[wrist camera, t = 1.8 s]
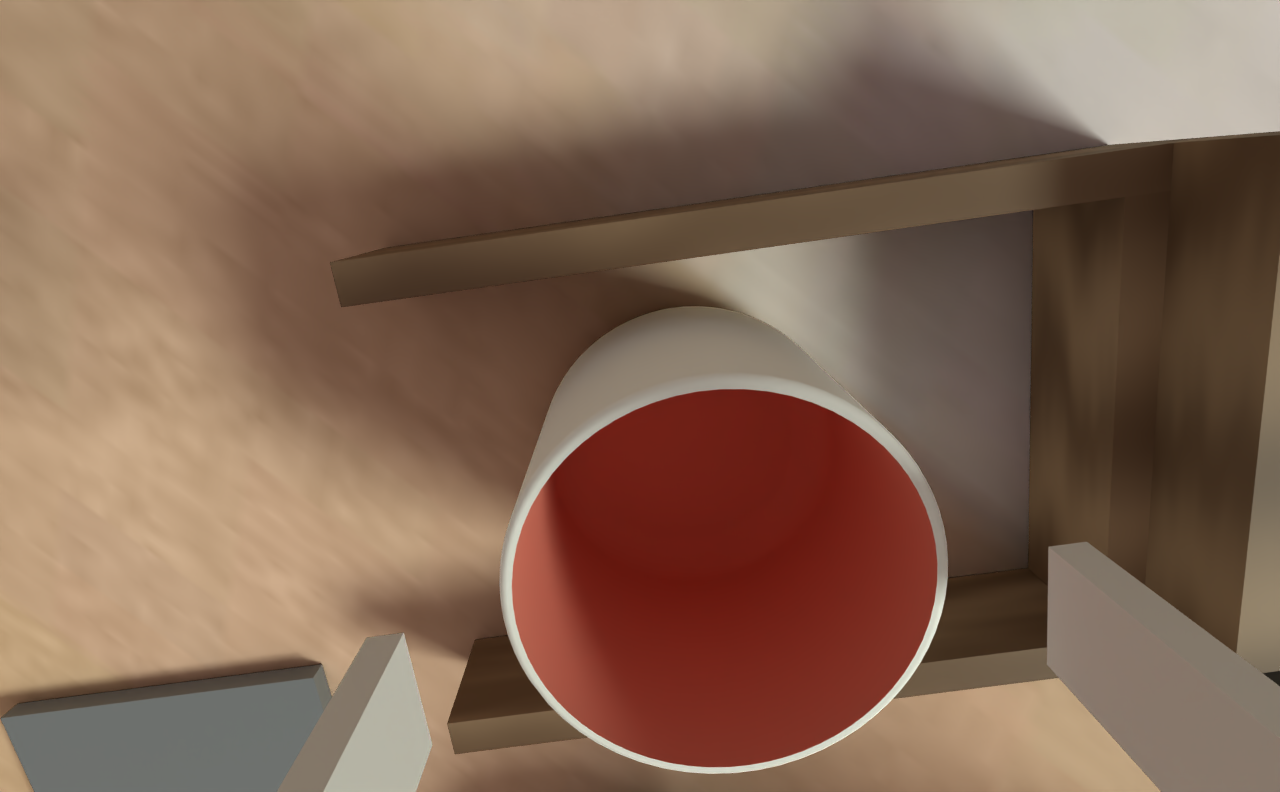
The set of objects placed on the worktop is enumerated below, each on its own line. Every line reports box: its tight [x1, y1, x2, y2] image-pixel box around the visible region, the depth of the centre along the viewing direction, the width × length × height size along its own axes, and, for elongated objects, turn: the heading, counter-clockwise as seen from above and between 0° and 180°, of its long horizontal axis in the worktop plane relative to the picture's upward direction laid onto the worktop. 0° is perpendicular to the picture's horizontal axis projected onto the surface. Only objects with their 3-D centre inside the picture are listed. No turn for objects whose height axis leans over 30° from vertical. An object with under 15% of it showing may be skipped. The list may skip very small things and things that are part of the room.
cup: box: [499, 306, 948, 774], centre depth 21 cm, size 10×10×10 cm
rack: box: [330, 131, 1280, 754], centre depth 22 cm, size 16×23×8 cm
